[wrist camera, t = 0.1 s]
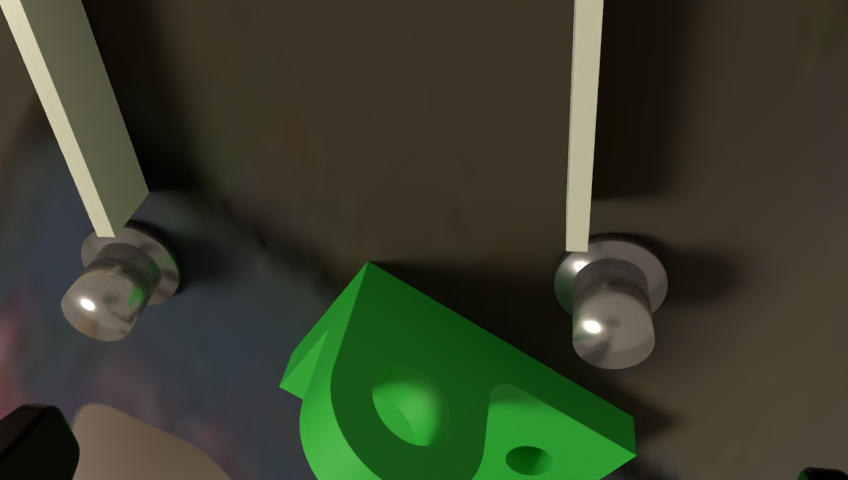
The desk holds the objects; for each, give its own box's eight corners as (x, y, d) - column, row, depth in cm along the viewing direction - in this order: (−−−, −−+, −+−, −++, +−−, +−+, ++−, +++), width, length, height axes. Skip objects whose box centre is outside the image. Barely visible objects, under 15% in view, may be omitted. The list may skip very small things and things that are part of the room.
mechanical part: (294, 348, 30) (222, 531, 24) (369, 256, 27) (308, 443, 21) (536, 479, 33) (528, 674, 27) (633, 412, 30) (649, 618, 23)
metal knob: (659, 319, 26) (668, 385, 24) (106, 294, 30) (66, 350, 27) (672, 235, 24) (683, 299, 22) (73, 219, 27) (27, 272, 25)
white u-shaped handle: (586, 201, 24) (587, 251, 22) (133, 192, 26) (97, 236, 24) (604, -119, 18) (609, -90, 16) (28, -91, 21) (-29, -64, 19)
